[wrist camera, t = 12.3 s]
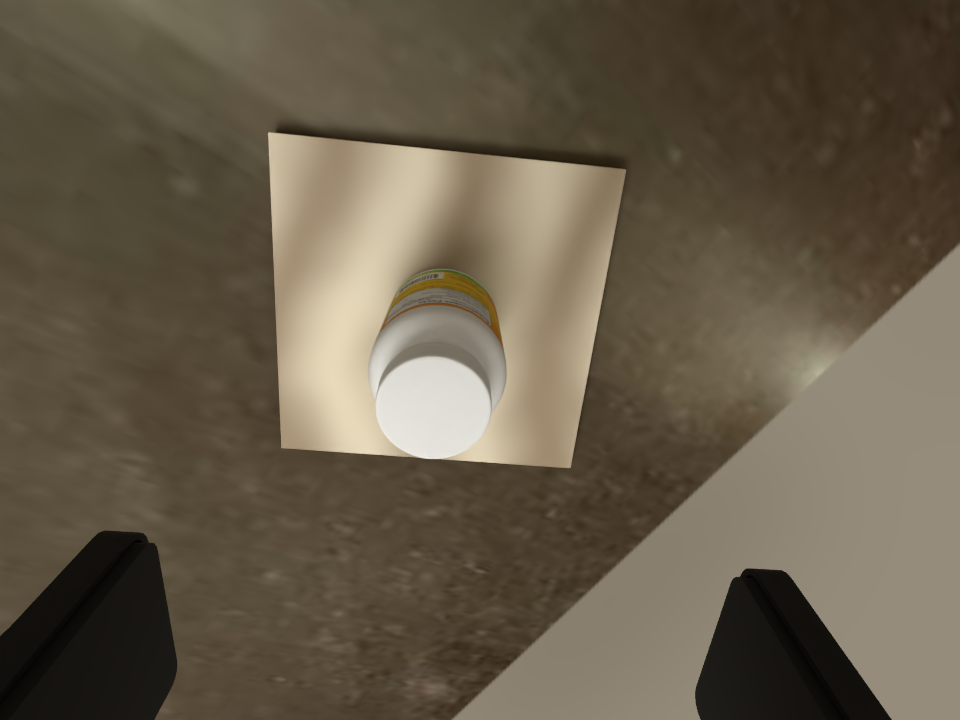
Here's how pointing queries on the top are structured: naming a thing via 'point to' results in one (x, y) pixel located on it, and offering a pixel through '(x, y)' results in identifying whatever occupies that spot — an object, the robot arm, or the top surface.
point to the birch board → (425, 246)
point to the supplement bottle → (437, 364)
